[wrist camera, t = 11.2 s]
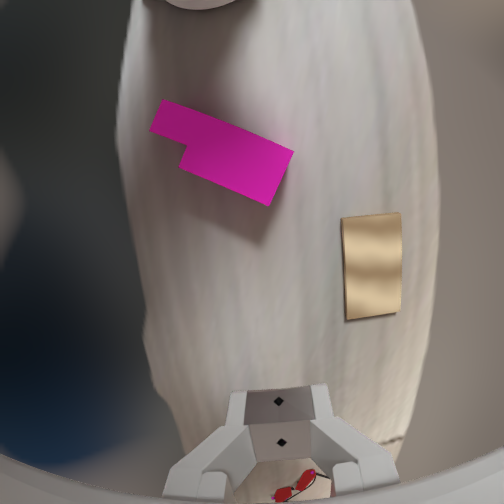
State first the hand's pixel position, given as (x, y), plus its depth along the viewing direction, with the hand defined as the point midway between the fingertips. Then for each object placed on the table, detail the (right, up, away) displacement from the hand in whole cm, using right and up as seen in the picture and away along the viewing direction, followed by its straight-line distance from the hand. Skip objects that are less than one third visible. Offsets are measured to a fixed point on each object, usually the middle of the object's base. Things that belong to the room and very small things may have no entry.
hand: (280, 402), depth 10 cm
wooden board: (+15, +3, +33) cm, 36 cm away
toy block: (-5, +15, +22) cm, 27 cm away
